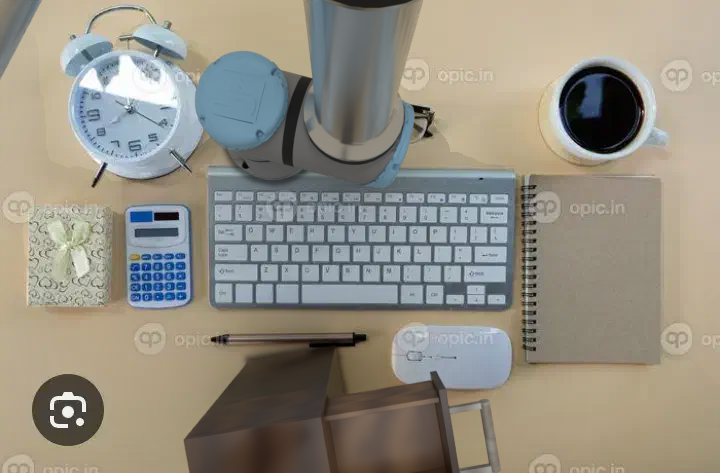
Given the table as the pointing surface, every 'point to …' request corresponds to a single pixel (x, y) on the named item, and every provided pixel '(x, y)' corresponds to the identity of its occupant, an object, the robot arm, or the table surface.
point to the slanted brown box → (269, 417)
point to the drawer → (401, 431)
